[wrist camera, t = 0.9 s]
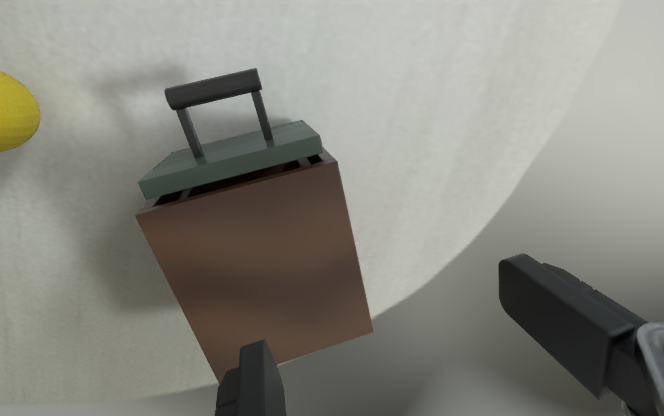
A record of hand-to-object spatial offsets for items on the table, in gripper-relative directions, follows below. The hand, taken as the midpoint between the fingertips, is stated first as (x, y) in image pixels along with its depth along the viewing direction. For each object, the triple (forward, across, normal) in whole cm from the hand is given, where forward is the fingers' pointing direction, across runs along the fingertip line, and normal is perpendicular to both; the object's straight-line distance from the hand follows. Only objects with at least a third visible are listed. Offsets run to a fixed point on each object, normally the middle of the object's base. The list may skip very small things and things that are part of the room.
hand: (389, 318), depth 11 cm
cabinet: (+22, +5, +5) cm, 24 cm away
